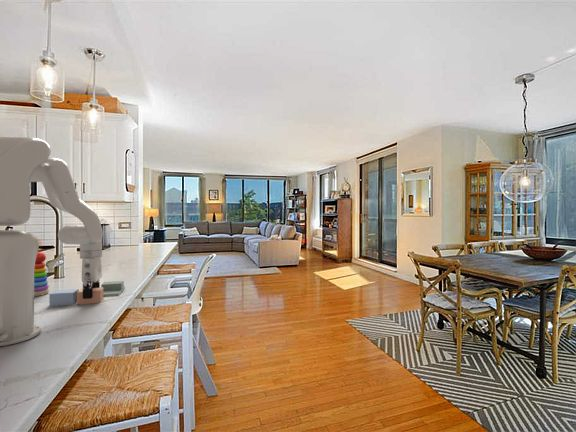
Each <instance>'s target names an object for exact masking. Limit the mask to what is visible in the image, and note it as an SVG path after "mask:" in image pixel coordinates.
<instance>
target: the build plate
mask: <svg viewBox="0 0 576 432" xmlns="http://www.w3.org/2000/svg"><path fill="white" fill-rule="evenodd" d="M102 287H103V297H114V296H119V295H121V293H122V292H123V291H124V289H125V288H126V287H125V280H118V281H117V280H116V281H113V280H112V281H103V282H102V283H101V286H100V288H102Z"/></svg>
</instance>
